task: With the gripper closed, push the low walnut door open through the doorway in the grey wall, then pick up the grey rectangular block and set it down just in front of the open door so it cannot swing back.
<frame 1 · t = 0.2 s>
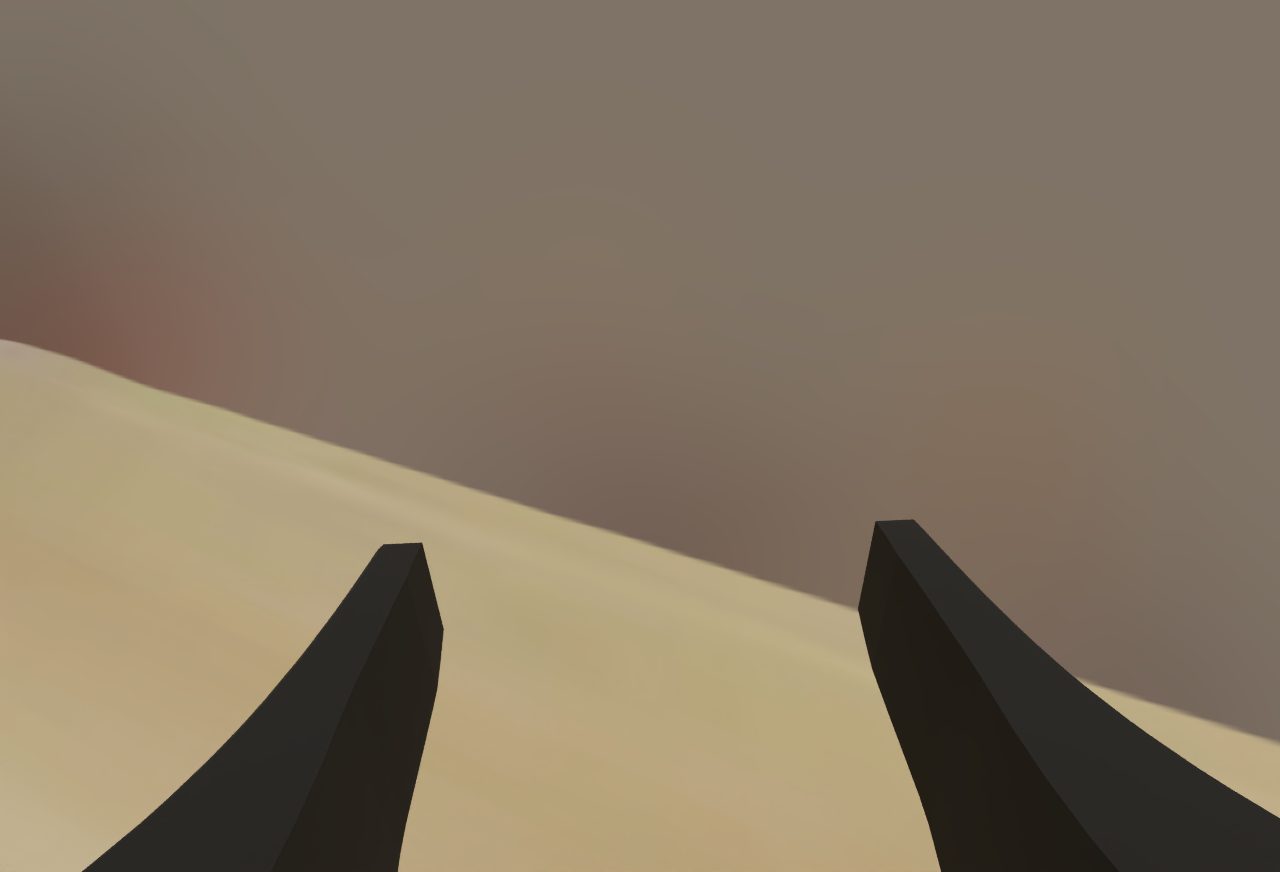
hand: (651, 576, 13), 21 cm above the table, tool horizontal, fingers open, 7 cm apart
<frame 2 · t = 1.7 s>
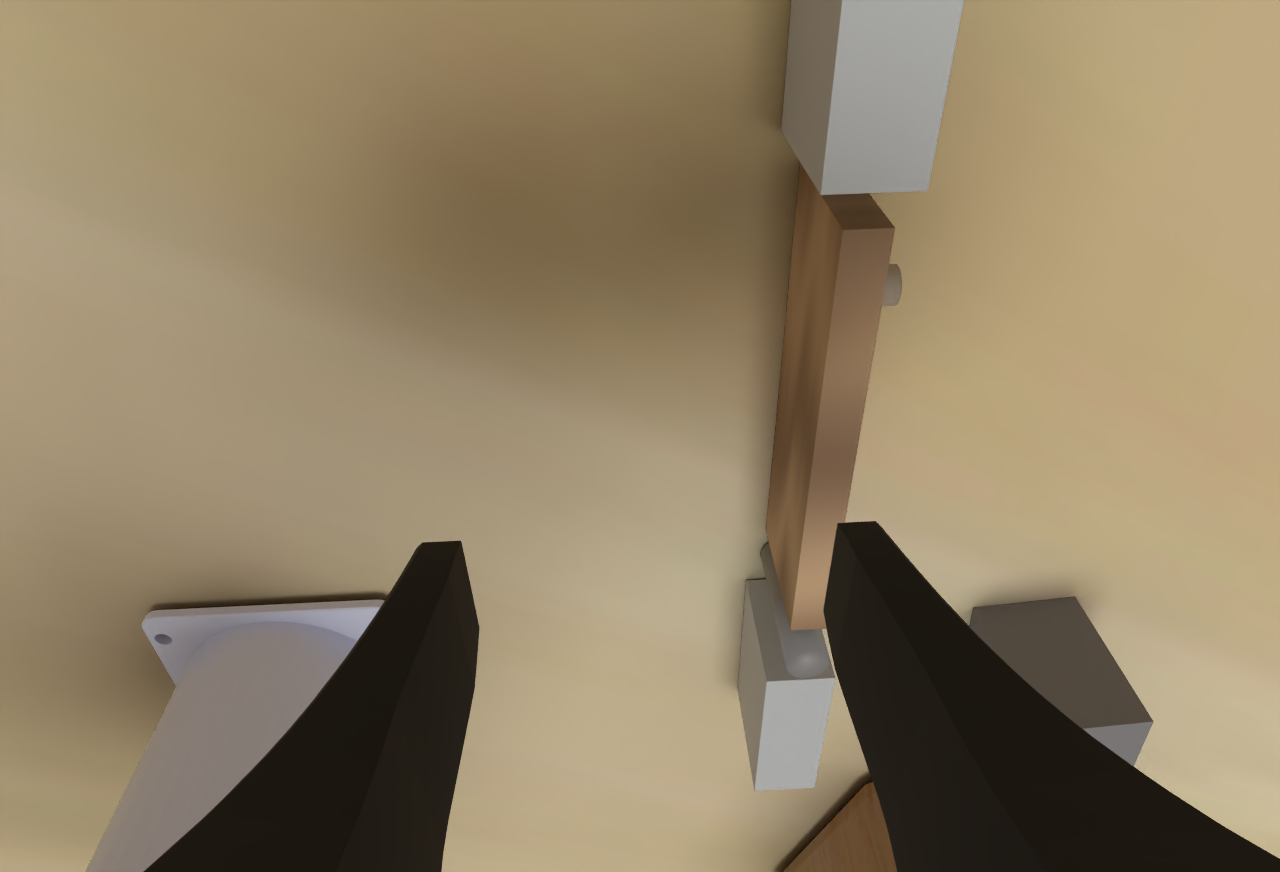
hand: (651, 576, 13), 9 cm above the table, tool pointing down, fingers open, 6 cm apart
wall: (936, 473, 25), on the table
door: (830, 415, 21), point 2 cm above the table, hinge at 0.0°
wooden block: (907, 836, 38), on the table
grey rectangular block: (1009, 655, 30), on the table
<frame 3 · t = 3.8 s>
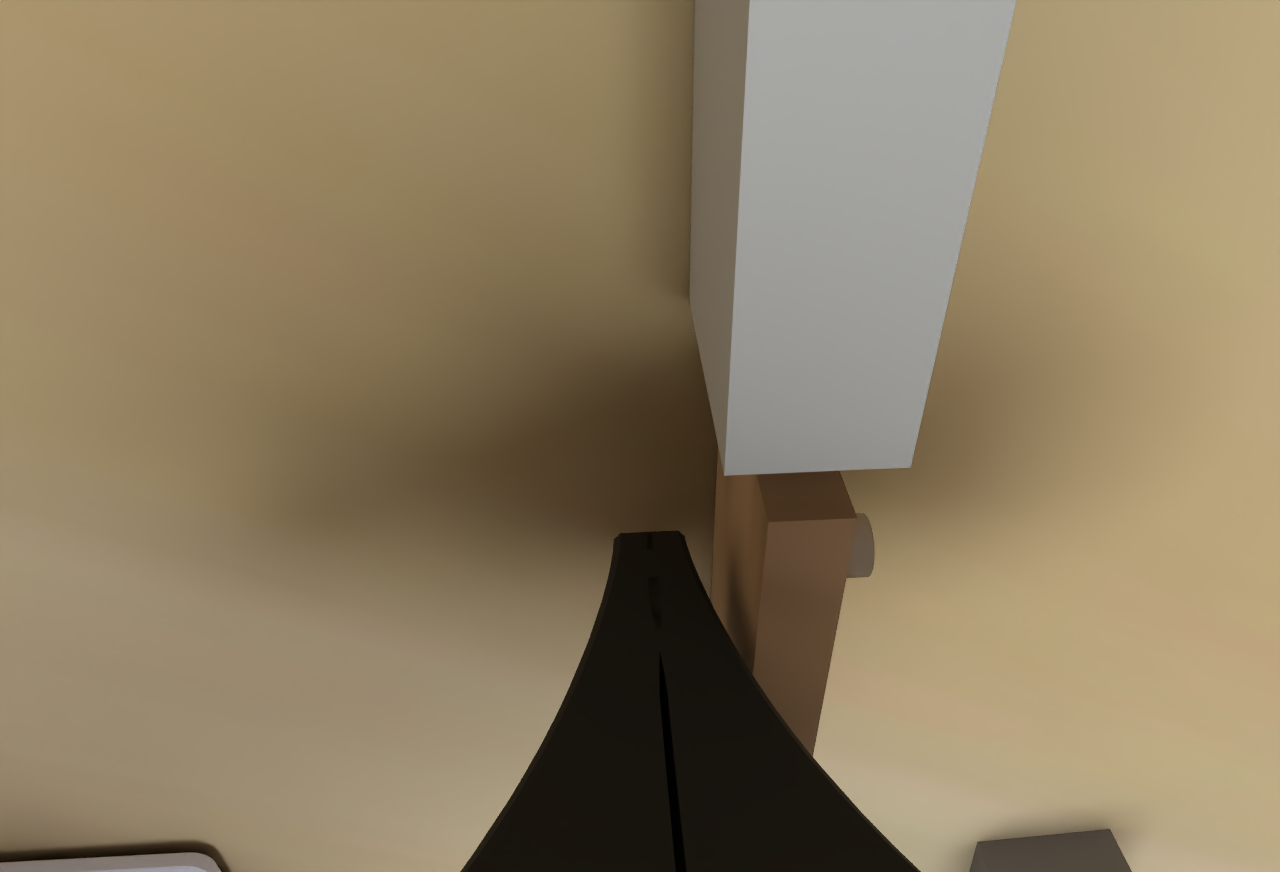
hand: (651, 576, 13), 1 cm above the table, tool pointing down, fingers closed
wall: (929, 708, 18), on the table
door: (775, 688, 14), point 2 cm above the table, hinge at 0.1°, touching gripper
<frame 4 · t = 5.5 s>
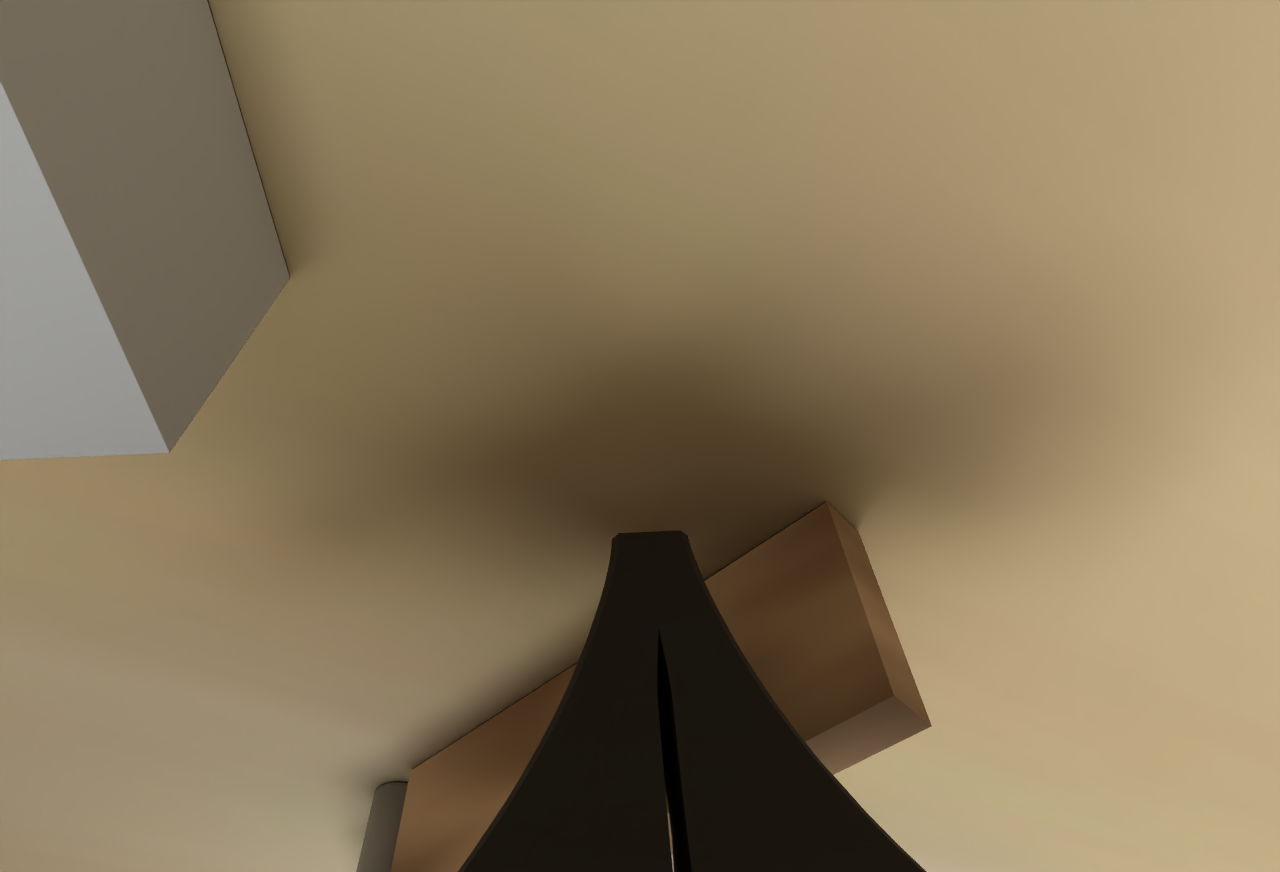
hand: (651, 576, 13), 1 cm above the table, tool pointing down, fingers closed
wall: (584, 709, 18), on the table
door: (624, 762, 15), point 2 cm above the table, hinge at 48.8°, touching gripper
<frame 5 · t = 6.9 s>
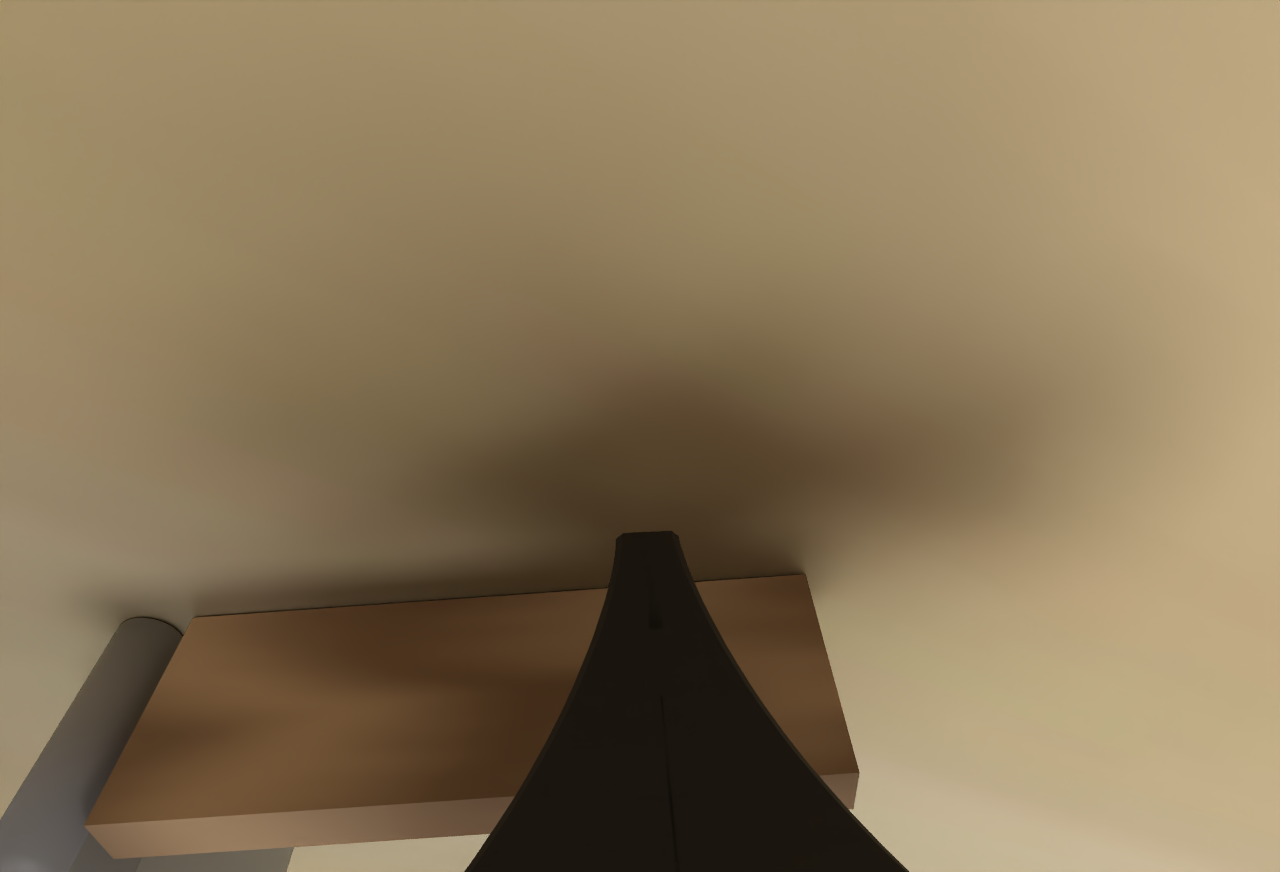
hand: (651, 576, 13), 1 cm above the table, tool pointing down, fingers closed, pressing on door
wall: (352, 513, 14), on the table
door: (494, 717, 14), point 2 cm above the table, hinge at 87.3°, touching gripper
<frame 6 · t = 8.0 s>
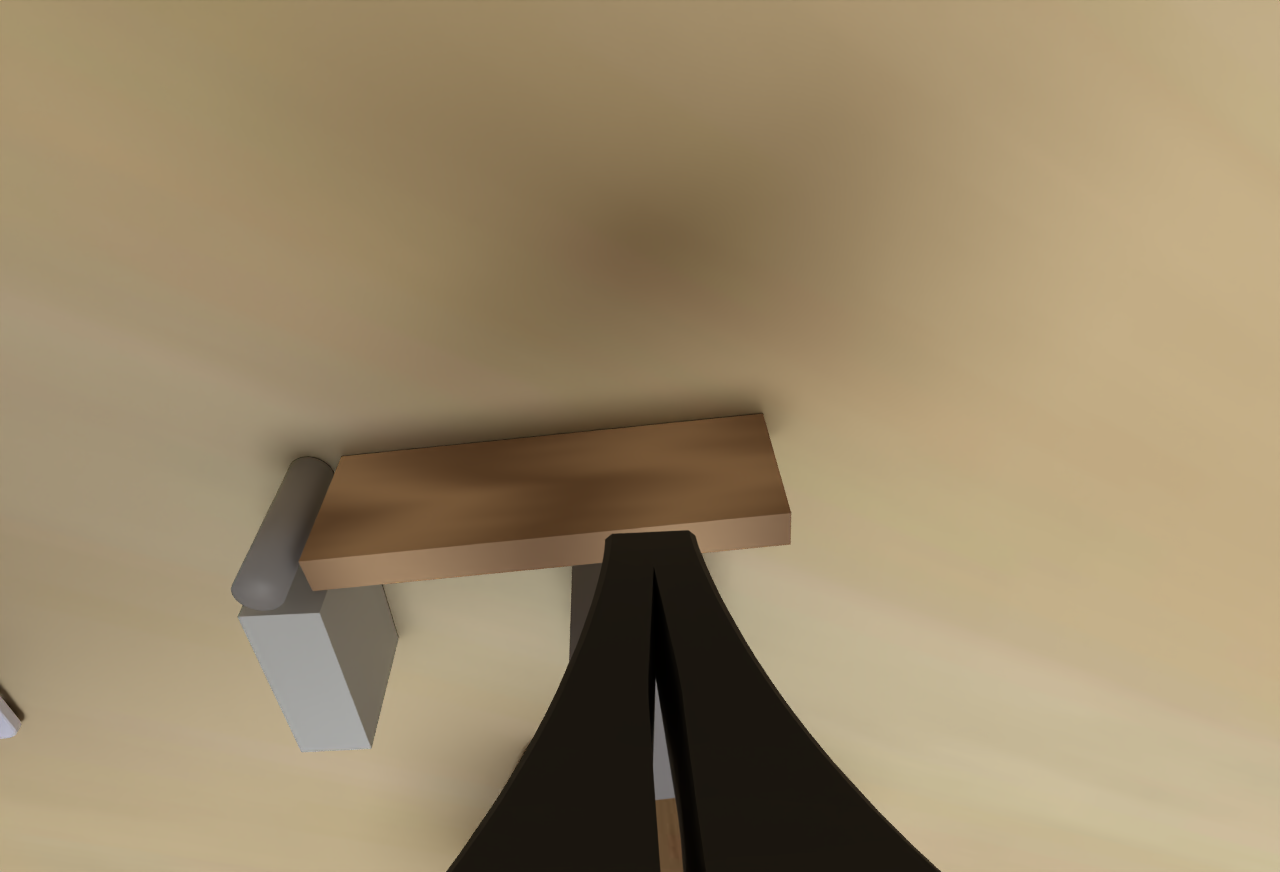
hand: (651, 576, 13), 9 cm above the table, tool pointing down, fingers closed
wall: (457, 375, 21), on the table
door: (552, 509, 21), point 2 cm above the table, hinge at 86.0°
wooden block: (612, 814, 34), on the table
grey rectangular block: (641, 603, 26), on the table
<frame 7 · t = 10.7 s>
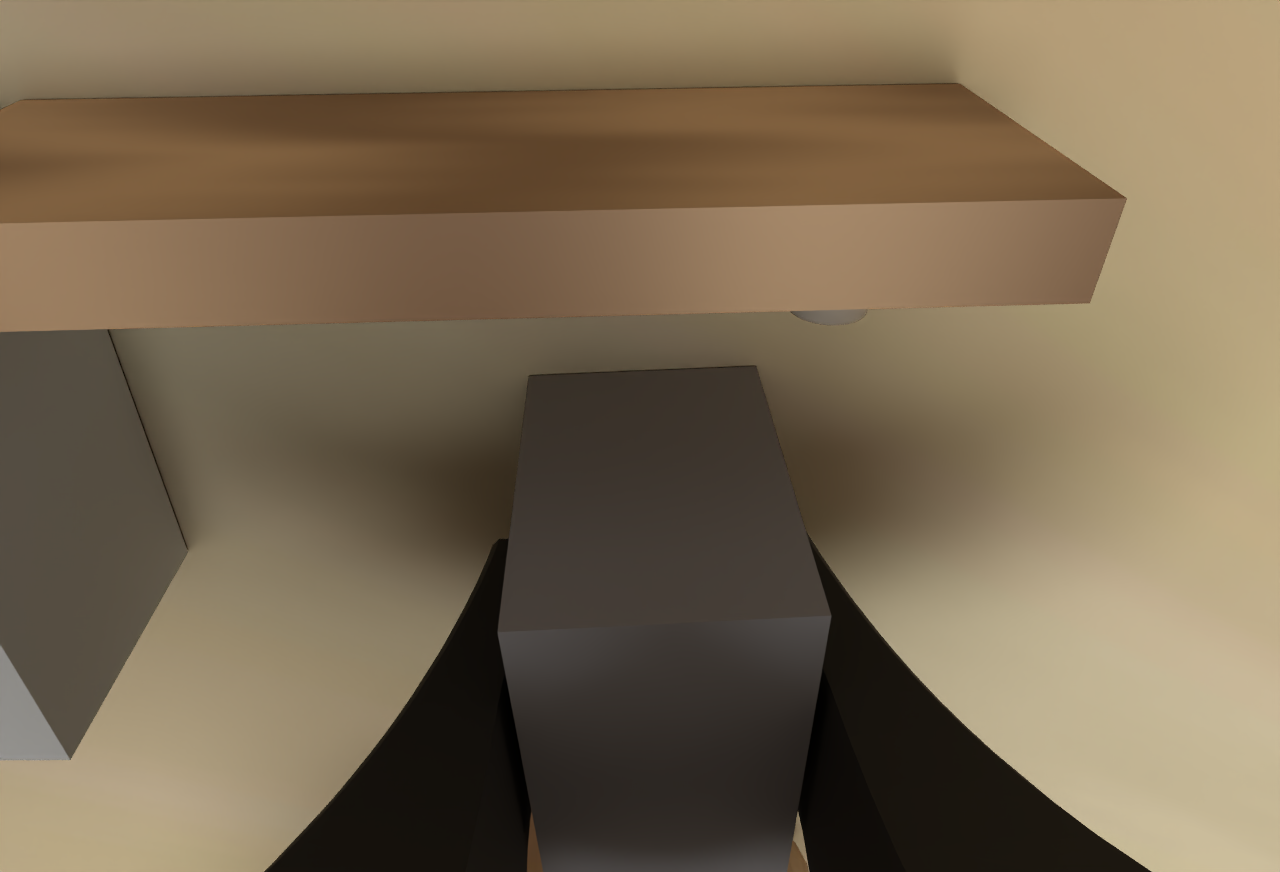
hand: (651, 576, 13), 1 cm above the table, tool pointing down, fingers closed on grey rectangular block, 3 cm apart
door: (490, 224, 9), point 2 cm above the table, hinge at 86.0°
wooden block: (557, 869, 22), on the table
grey rectangular block: (646, 516, 14), on the table, touching gripper
when the fingers open (3 cm above the table, at t = 14.0 s): grey rectangular block stays where it is, on the table.
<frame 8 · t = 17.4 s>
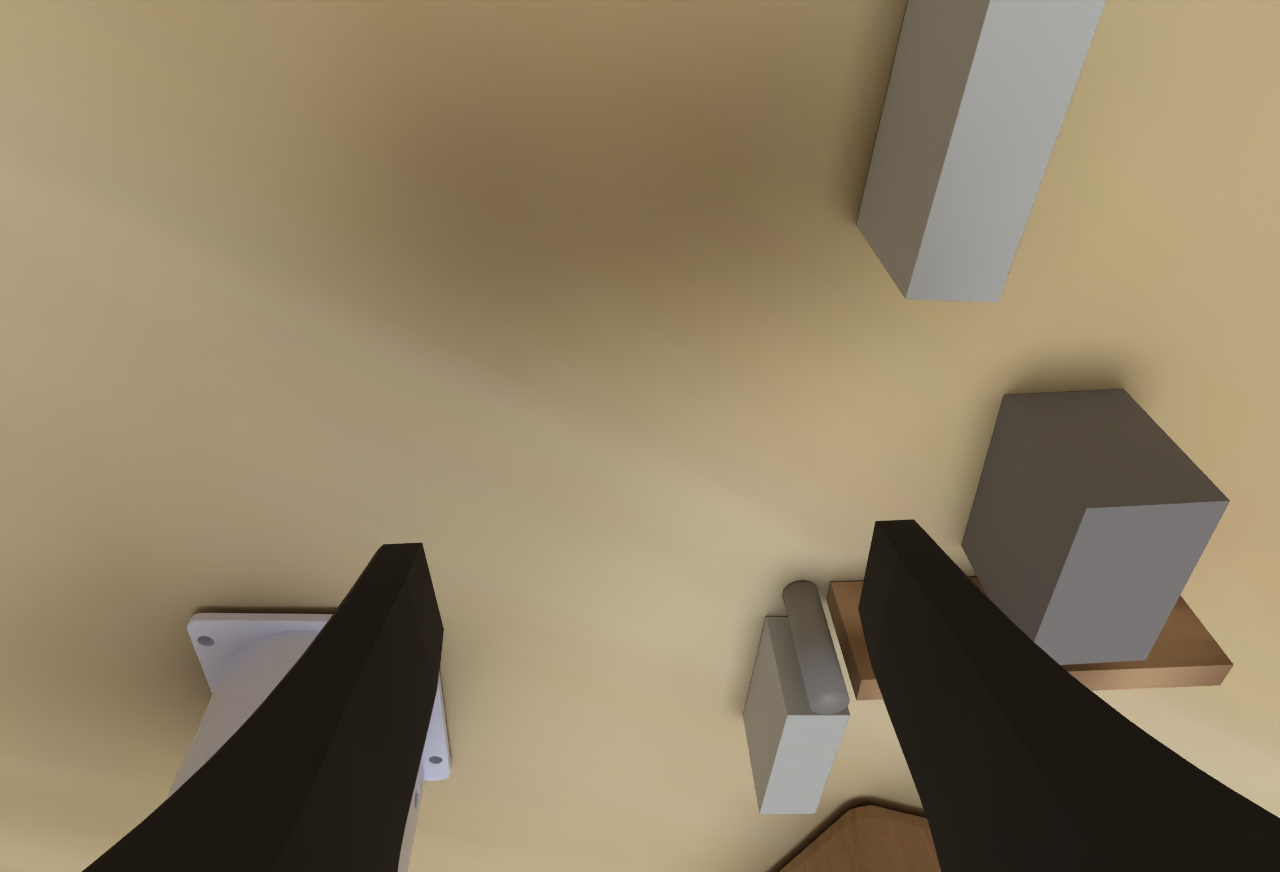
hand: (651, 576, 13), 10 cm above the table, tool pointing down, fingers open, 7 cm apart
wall: (951, 531, 27), on the table
door: (1013, 639, 27), point 2 cm above the table, hinge at 86.0°
wooden block: (879, 859, 40), on the table
grey rectangular block: (1035, 471, 25), on the table
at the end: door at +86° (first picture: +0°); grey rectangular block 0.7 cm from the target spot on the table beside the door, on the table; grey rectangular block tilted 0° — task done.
